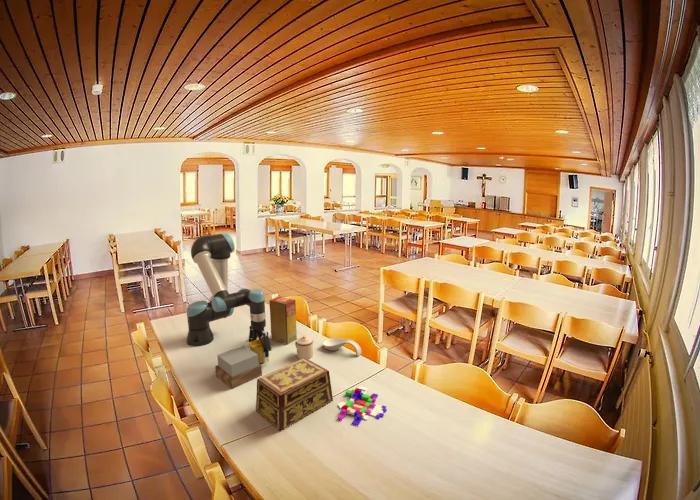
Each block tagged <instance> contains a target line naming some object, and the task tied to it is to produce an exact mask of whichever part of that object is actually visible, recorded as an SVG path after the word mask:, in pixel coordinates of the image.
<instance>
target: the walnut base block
mask: <svg viewBox="0 0 700 500" xmlns="http://www.w3.org/2000/svg"><path fill="white" fill-rule="evenodd" d="M258 364H259V366H257V367H255V368H253V369H250V370H248V371H245V372H243V373H241V374H238V375H236V376H234V377H231V376H230V375H229V374H228V373H226V372H225V371H224V370H222V369H221V368H220V367H219V366H218V364H217V365H215V366H214V369H215V377H216V378H218V380H220V381H221V382H223V383H224V384H225V385H227V386H228V387H229V388H231V389H233V390H234V389H236V388H238V387H240V386H242V385H244V384H246V383H249V382H251V381H253V380H255V379H258V378H260V377H262V376H263V370H262V369H263V368H262V364H261V363H258Z"/></svg>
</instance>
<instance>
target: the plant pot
mask: <svg viewBox="0 0 700 500" xmlns="http://www.w3.org/2000/svg"><path fill="white" fill-rule="evenodd" d="M249 349H250V350H251V351H253V352H254V353H256V354H257V355H258V363H259V364H262V363H264V359H263V351H264V349H263V346H262V344H261V341H260V340H259V338H257V340H255V341H252V342H249Z"/></svg>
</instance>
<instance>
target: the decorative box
mask: <svg viewBox="0 0 700 500" xmlns="http://www.w3.org/2000/svg"><path fill="white" fill-rule="evenodd" d="M255 397H256V400H255V411H256V412H257V413H258V414H259V415H260V414H261V415H260V416H261V417H263V418H264V419H265V418H266V419H267V421H268V422H269V423H270V424H271V423H272V424H273V425H272V424H271V425H272V426H274V427H275V428H276V427H277V428H278V429H277V428H276V429H277V430H279V432H282V431H281V430H283V431H284V430H286V429H288V428H290V427H291V426H293V425H294V423H295V424H296V423H298V422H299V420H300V421H301V420H303V419H305V418H307V417H308V416H310V415H312V414H313V413H315V412H317V411H318V410H321V409H322V408H324V407H325V406H326V404H327V405H329V404H330V403H331V401H332V402H333V401H334V398H333V389H332V384H331V377H330V371H329V370H328V369H327V368H325V367H322V366H321V365H320V364H318V363H315V362H314V361H312V360H310V359H306V358H303V359H298V360H297V361H294V362H291V363H289V364H287V365H284V366H283V367H280V368H278V369H276V370H274V371H271V372H269V373H267V374H264V375H262V376H260V377H257V378H256V396H255ZM328 403H329V404H328ZM321 407H322V408H321ZM314 411H315V412H314ZM311 413H312V414H311ZM309 414H310V415H309ZM306 416H307V417H306ZM304 417H305V418H304ZM266 419H265V420H266ZM292 424H293V425H292ZM290 425H291V426H290ZM289 426H290V427H289ZM287 427H288V428H287ZM285 428H286V429H285Z"/></svg>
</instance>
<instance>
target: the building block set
mask: <svg viewBox="0 0 700 500" xmlns="http://www.w3.org/2000/svg"><path fill="white" fill-rule="evenodd" d="M362 391H363V392H362ZM369 391H370V388H368V387H365V386H361V385H359V386H358V387H354V388H351V389H350V390H349V389H347V390H345V396H347V395H348V396H347V397H349V396H351V397H350V399H349V400H348V401H347V402H346V401H342V402H341V401H340V402H339V403H338V404H337V407H338V406H339V407H338V409H339V410H340V411H341V413H340V414H339V415H338V416H337V420H338V421H340V420H341V421H340V422H342V421H343V420H344V419H345V418H346V416H347V415H348V414H351V415H352V416H354V417H355V418H354V419H353V421H352V422H351V425H352V424H353V426H356V425H357V426H356V427H358V426H359V425H360V424H361V422H362V420H364V419H365V420H364V421H368V420H369V419H370V418H369V417H370V416H371V415H372V416H371V417H374V416H375V417H374V418H375V419H376V418H377V420H380V419H379V418H384V416H385V413H386V412H387V411H388V410H387V406H386V405H383V404H382V405H379V404H376V400H377V398H378V397H379V394H378V393H374V392H373V393H371V394H370V395H369V394H368V392H369ZM361 399H362V400H361ZM364 400H365V401H364ZM354 403H355V404H356V403H357V404H356V405H359V404H360V405H359V406H363V405H364V406H363V407H359V406H355V404H354ZM372 407H373V408H372ZM370 408H372V410H370ZM365 413H366V414H365ZM346 414H347V415H346ZM367 414H369V415H367ZM345 415H346V416H345ZM351 415H350V416H351ZM361 418H363V419H361ZM342 419H343V420H342ZM367 419H368V420H367Z"/></svg>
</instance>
